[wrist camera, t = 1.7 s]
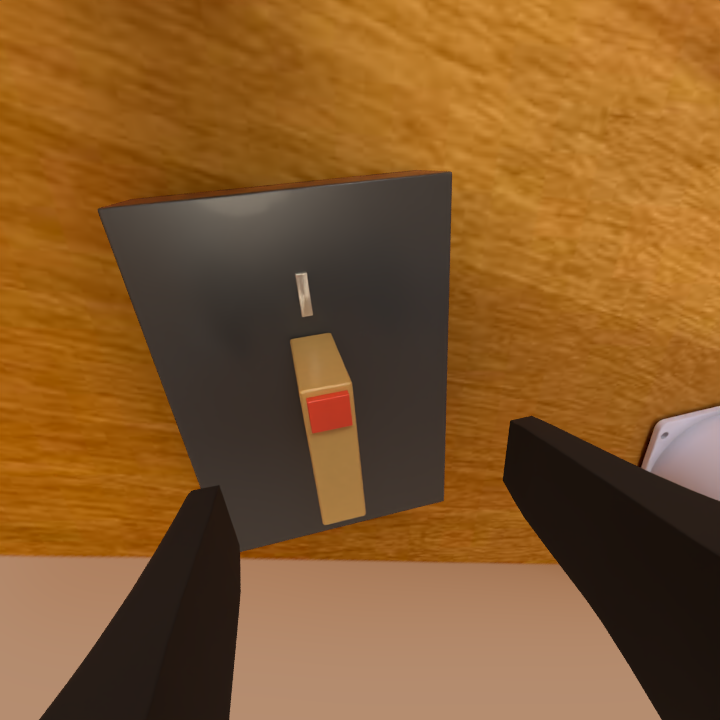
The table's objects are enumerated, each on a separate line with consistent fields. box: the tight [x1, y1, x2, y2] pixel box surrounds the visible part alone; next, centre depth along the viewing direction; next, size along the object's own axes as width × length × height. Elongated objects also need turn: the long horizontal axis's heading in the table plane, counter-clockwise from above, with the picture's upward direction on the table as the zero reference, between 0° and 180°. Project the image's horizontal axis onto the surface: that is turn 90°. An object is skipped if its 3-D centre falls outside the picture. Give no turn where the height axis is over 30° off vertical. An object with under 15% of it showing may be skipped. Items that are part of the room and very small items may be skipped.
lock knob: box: [290, 333, 366, 525], centre depth 13 cm, size 5×1×4 cm, turn 5°
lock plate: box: [98, 170, 452, 552], centre depth 15 cm, size 14×10×3 cm
